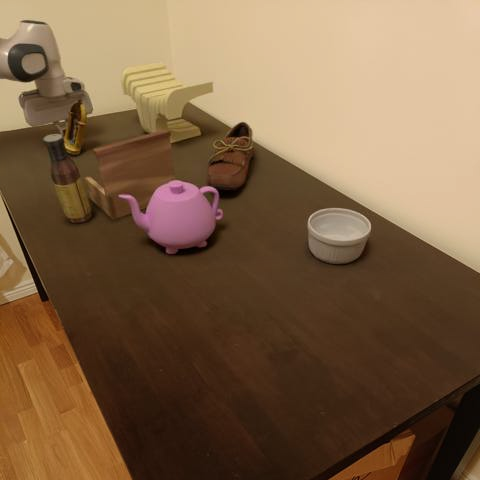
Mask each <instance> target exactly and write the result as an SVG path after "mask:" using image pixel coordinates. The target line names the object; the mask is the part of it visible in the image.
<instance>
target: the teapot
mask: <svg viewBox="0 0 480 480" xmlns="http://www.w3.org/2000/svg"><path fill="white" fill-rule="evenodd" d="M206 193H212V194H213V202H212V204H210V202H209V200H208V199H207V197H206V196H205V194H206ZM118 196H119V197H121V198H123V199H124V200H126V201H127V202H128V203H129V205H130V207H131V211H132V213H131V214H132V219H133V221H134V223H135V224H136V226H137V227H138V228H139V229H141V230H142V231H144V232H146V234H147V235H148V237H149V238H150V239H151V240H153V242H155V243H156V244H158V245H160V246H162V247H164V248H165V252H166V253H167V254H170V255H172V254H173V255H175V254H176V253H177V252H179V250H180V249H181V250H182V249H189V248H193V247H197V248H203V247H206V246H207V244H208V242H207V241H206V240H208V239H209V237H210V236H211V235H212V234H213V233H214V230H215V228H216V221H219V220H221V219H222V218H223V216H224V213H223V209H221V208H218V206H219V201H220V195H219V190H218V189H215V188H213V187H210V186H209V185H207V186H206V185H205V186H202V187H200V188H199V187H197V186H196V185H195V184H193V183H190V182H186V181H182V180H178V179H175V180H174V181H171V182H169V183H168V184H164V185H162V186H160V187H159V188H158V189H156V191H155V192H154V194H153V196H152V198H151V200H150V202H149V204H148V207H147V208H146V209H145V213H143V212H142V210H140V209H139V206H138V203H137V201H136V199H135V198H134V197H132V196H130V195H118Z"/></svg>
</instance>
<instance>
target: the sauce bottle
mask: <svg viewBox="0 0 480 480" xmlns="http://www.w3.org/2000/svg"><path fill="white" fill-rule="evenodd" d="M63 137H64V135H63V136H62V135H61V134H60V133H53V134H47V135H46V136H44V137H43V142H44V146H45V147H46V148H47V152H48V154H49V159H50V176H51V180H52V183H53V186H54V188H55V191H56V194H57V196H58V199H59V202H60V204H61V208H62V210H63V213H64V216H65V217H66V220H67V221H68V222H69V223H71V224H81V223H86V222H88V221H89V220H90V219H91V218H92V216H93V212H92V207H91V205H90V201H89V198H88V195H87V193H86V188H85V185H84V183H83V180H82V176H81V174H80V172H79V169H78V166H77V165H76V162H75V160H73V158H71V156H70V155H69V153H68V152H67V151H66V148H65V145H64V139H63Z"/></svg>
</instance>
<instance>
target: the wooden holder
mask: <svg viewBox="0 0 480 480" xmlns="http://www.w3.org/2000/svg"><path fill="white" fill-rule="evenodd" d="M170 136H171V131H169V130H167V129H166V130H162V131H158V132H155V133H151V134H149V133H147V134H143V135H140V136H136V137H133V138H129V139H126V140H121V141H118V142H114V143H110V144H107V145H103V146H99V147H96V148H93V149H92V152H93V154H94V155H95V158H96V163H97V167H98V171H99V174H100V179H101V182H102V186H101V185H100V184H99V183H98V182H97V181H96V180H94V179H93V177H91V176H87V177H86V176H85V177H84V179H85V183H86V188H87V190H88V194H89V197H90V198H89V199H90V200H91V201H92V202H93V203H94V204H95V205H96V206H98V208H99V209H101V211H103V212H104V213H105V214H106V215H107V216H108V217H109V218H110V219H111V220H112V221H113V220H117V219H119V218H123V217H124V216H125V217H126V216H128V215H131V214H132V211H131V207H130V205H129V203H128V202H127V201H126V200H124V199H123V198H121V197H119V196H118V195H130V196H132V197H134V198H135V199H136V201H137V203H138V206H139V209H140V211H142V210H146V209H147V207H148V204H149V202H150V200H151V198H152V196H153V194H154V192H155V191H156V189H158V188H159V187H160V186H162V185H164V184H168V183H169V182H171V181H174V180H176V176H175V168H174V167H175V166H174V159H173V150H172V143H171V141H170Z"/></svg>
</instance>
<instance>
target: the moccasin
mask: <svg viewBox="0 0 480 480" xmlns="http://www.w3.org/2000/svg"><path fill="white" fill-rule="evenodd" d="M253 136H254V132H253V129H252V127H250V125H249V124H248V123H247V122H245V121H241V122H239V123H236V124H235V125H233V127H232V128H231V129H229V131H228V132H227V133H226V135H225V136H224V137H223V138H222V139H217V140H215V141H214V142H213V145H212V146H213V148H214V149H215V150H214V151H213V152H214V154H213V155H212V156H211V157H210V158H209V160H207V161H208V162H207V165H208V166H207V169H206V175H205V178H206V183H207V186H210V187H213V188H215V189H216V190H217V191H219V190H220V191H236V190H238V189H240V188H241V187H242V186H243V184H245V183H246V178H247V174H248V170H249V166H250V160H251V159H252V158H253V156H254V148H255V147H254V141H253Z"/></svg>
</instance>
